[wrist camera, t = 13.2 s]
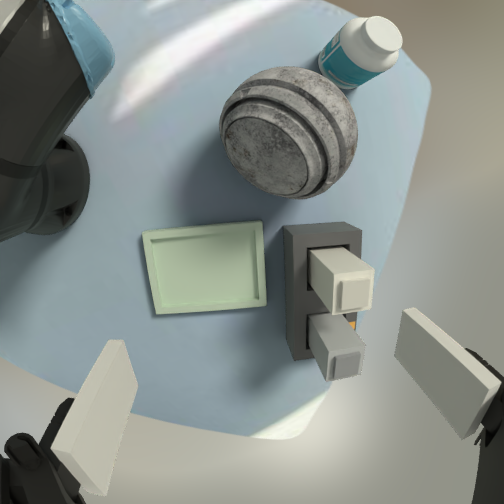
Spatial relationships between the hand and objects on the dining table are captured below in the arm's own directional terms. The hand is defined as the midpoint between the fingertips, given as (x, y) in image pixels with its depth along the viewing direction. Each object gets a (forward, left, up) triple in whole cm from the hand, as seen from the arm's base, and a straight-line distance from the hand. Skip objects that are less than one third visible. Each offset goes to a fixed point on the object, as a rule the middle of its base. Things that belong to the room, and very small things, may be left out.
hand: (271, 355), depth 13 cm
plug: (+10, -14, -27) cm, 32 cm away
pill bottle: (+16, +23, -29) cm, 40 cm away
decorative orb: (+6, +12, -29) cm, 32 cm away
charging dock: (+10, -9, -29) cm, 32 cm away
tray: (-5, -5, -29) cm, 30 cm away
